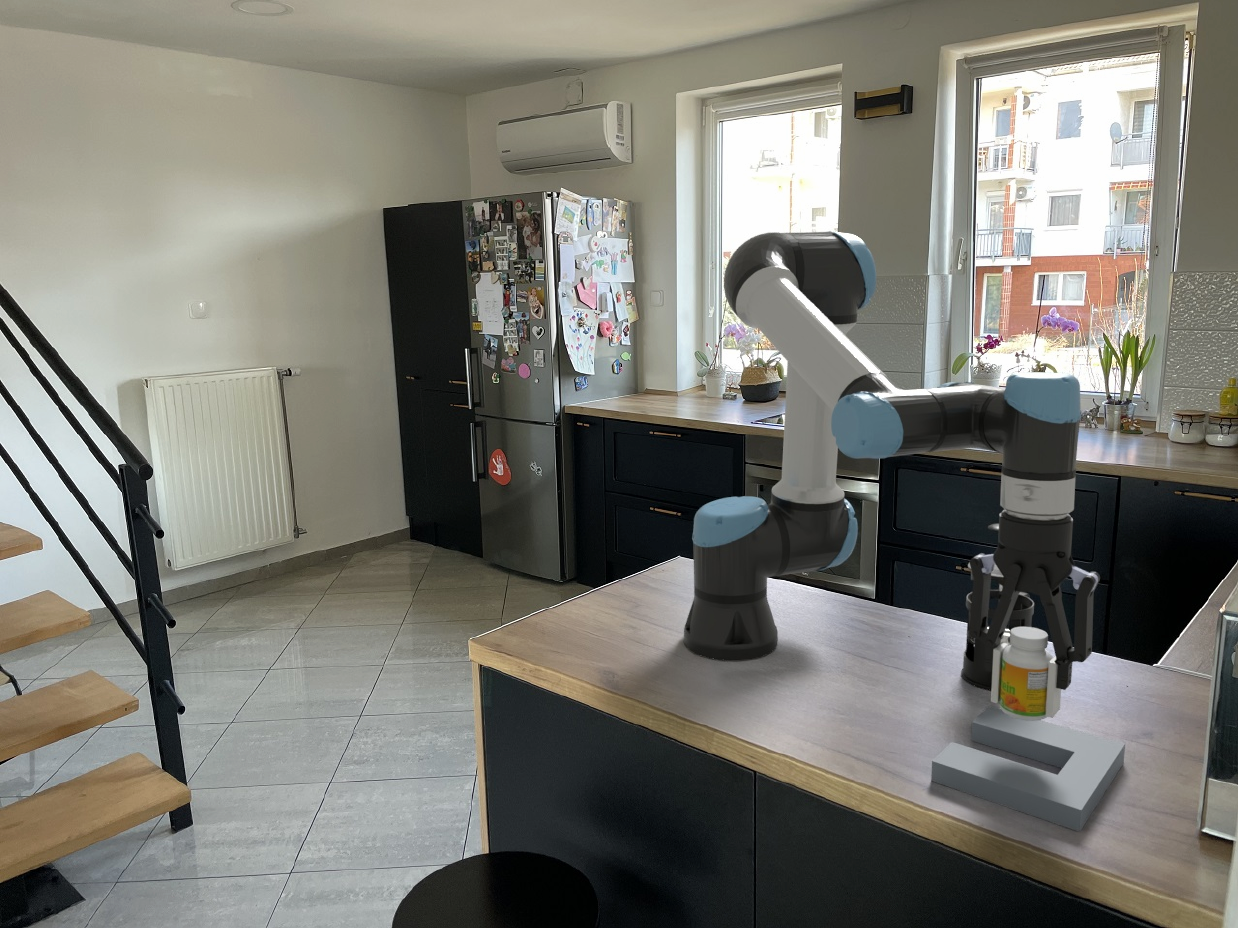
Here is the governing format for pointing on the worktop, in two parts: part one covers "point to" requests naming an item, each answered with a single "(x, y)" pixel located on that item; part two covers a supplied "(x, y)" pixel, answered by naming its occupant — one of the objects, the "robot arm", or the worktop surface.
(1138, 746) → the worktop surface
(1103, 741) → the notched board
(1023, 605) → the french press
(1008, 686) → the supplement bottle
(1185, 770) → the worktop surface
